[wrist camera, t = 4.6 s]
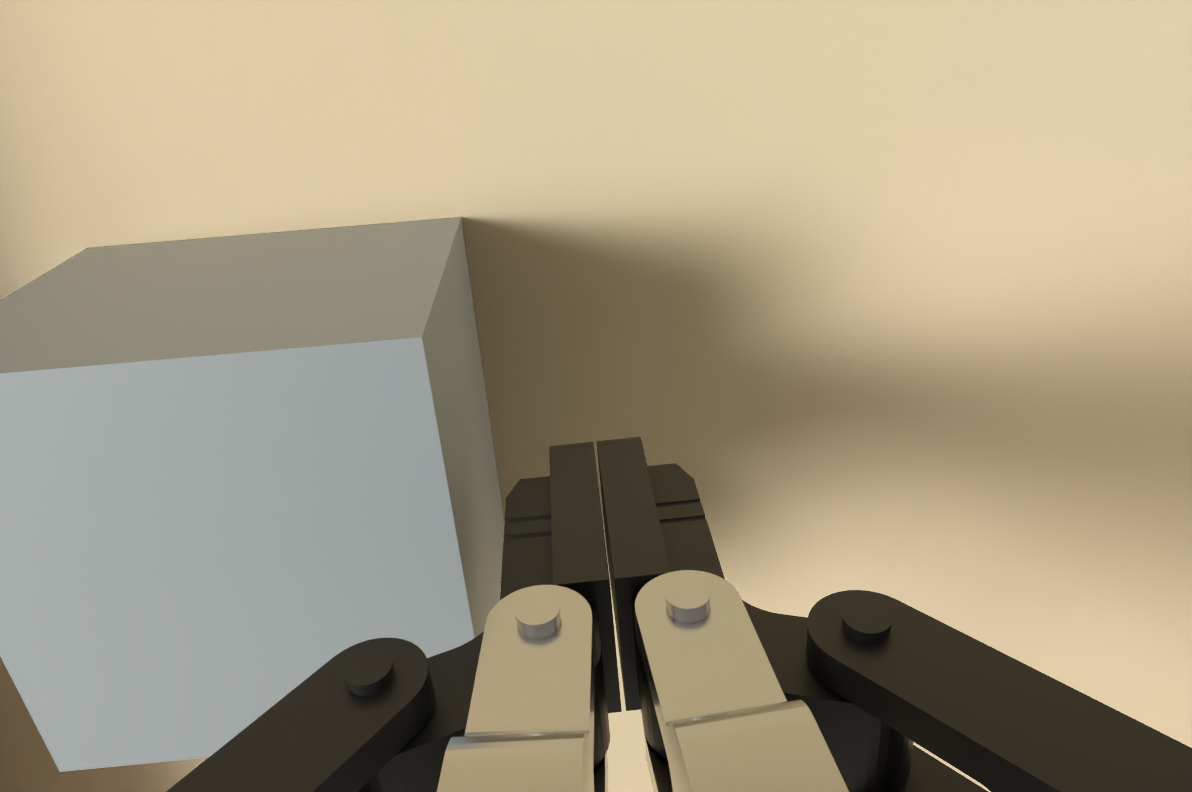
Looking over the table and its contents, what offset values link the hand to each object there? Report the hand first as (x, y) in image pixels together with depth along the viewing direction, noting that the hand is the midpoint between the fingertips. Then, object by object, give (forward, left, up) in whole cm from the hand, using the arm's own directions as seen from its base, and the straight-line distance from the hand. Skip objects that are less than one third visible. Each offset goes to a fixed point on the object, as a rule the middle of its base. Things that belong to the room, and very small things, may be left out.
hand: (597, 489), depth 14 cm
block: (+6, 0, -4) cm, 7 cm away
